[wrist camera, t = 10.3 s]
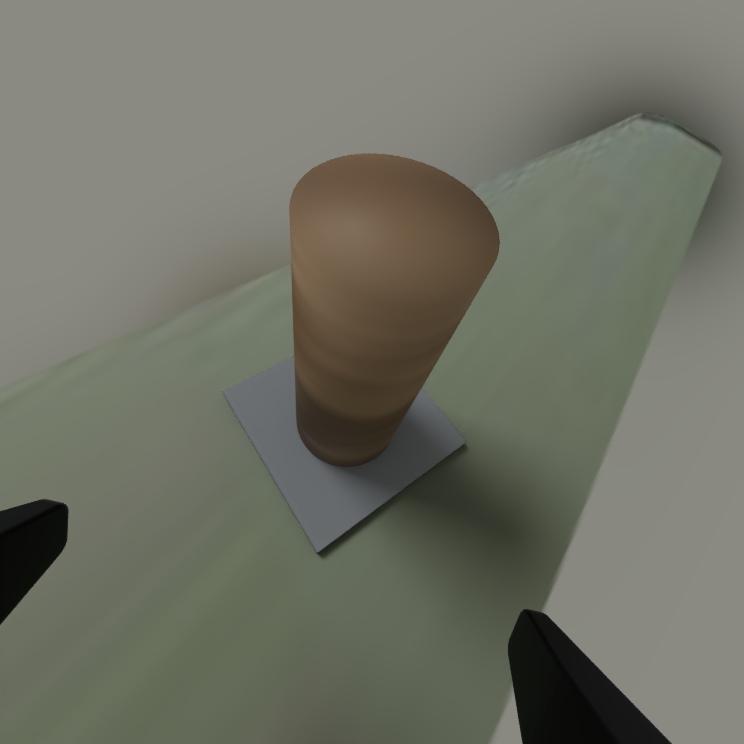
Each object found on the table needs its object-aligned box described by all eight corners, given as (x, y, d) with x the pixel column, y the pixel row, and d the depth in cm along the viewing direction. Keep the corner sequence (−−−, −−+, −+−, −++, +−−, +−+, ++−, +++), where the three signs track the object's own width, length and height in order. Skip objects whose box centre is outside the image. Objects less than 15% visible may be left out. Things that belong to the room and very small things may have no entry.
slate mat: (463, 444, 20) (466, 441, 19) (317, 553, 16) (317, 552, 16) (365, 324, 23) (366, 320, 22) (223, 395, 19) (222, 391, 19)
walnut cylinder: (400, 464, 18) (525, 302, 8) (295, 468, 17) (286, 292, 7) (388, 375, 21) (473, 164, 11) (296, 375, 20) (291, 143, 10)
